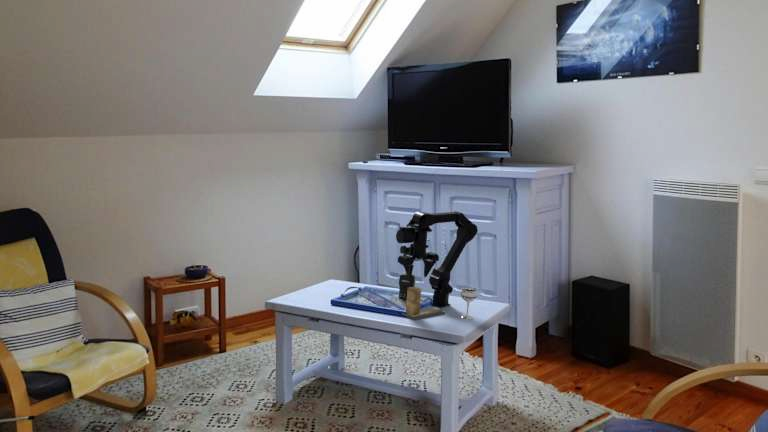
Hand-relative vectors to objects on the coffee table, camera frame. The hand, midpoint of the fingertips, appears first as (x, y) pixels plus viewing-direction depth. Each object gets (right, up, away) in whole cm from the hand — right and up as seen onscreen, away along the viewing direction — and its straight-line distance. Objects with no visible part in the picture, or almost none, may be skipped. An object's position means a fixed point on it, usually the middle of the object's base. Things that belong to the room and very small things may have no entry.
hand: (417, 278), depth 284 cm
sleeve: (-2, -14, -9) cm, 17 cm away
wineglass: (+20, -16, -6) cm, 26 cm away
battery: (-4, -11, +14) cm, 19 cm away
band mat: (+1, -14, -5) cm, 15 cm away
